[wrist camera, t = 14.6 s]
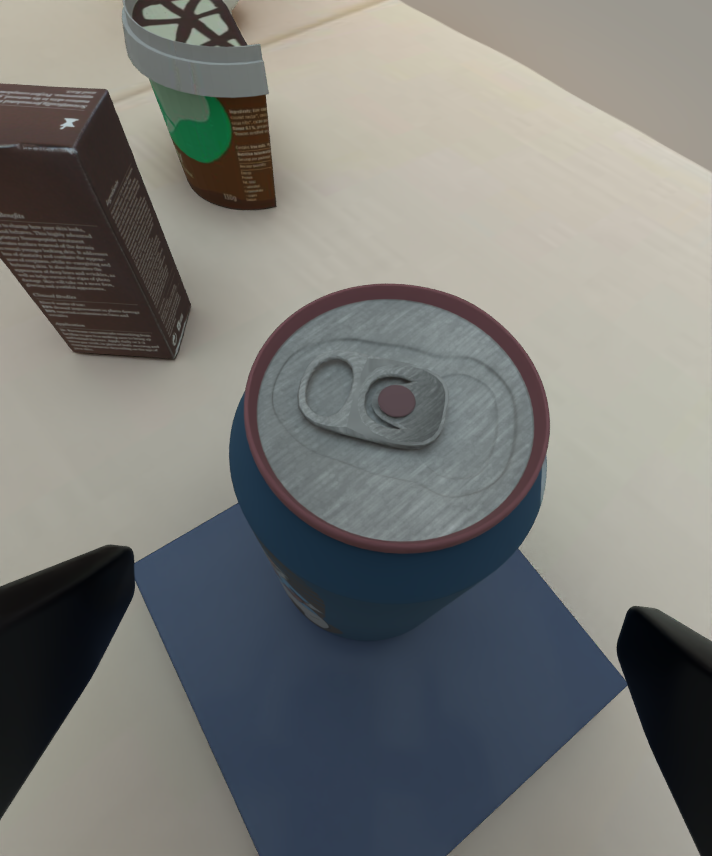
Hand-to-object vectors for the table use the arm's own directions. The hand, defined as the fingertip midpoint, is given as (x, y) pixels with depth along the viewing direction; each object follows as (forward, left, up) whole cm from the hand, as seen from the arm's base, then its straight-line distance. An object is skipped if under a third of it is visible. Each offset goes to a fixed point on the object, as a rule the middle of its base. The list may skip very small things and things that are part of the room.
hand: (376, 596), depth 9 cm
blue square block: (0, -1, -14) cm, 14 cm away
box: (+21, +1, -14) cm, 25 cm away
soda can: (+3, -2, -11) cm, 11 cm away
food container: (+31, -9, -14) cm, 35 cm away
